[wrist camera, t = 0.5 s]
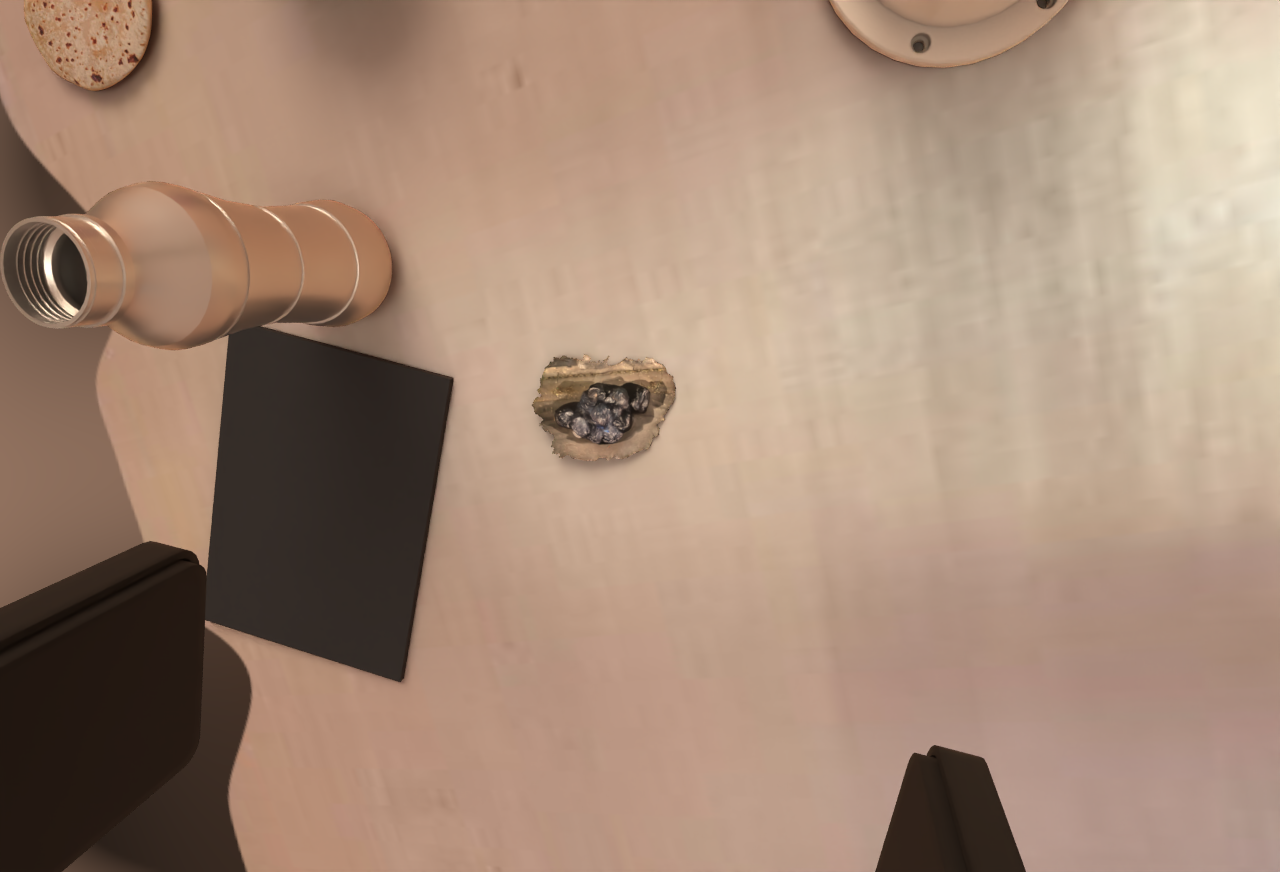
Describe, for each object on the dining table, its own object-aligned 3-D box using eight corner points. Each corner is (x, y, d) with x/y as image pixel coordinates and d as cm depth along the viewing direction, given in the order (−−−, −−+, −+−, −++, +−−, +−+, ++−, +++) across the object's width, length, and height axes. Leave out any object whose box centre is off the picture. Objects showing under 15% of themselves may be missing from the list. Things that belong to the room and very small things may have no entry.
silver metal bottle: (307, 322, 48) (-17, 373, 29) (295, 202, 47) (-56, 171, 27) (410, 323, 47) (143, 375, 28) (401, 199, 45) (112, 165, 26)
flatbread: (78, 113, 48) (64, 111, 47) (13, -14, 47) (-4, -19, 46) (184, 45, 46) (171, 41, 45) (117, -90, 45) (102, -97, 44)
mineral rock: (520, 371, 46) (508, 376, 45) (648, 316, 44) (641, 319, 42) (568, 479, 47) (559, 488, 45) (696, 430, 45) (692, 438, 43)
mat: (235, 319, 49) (229, 320, 48) (453, 377, 47) (450, 379, 47) (207, 616, 54) (202, 619, 54) (403, 678, 52) (400, 682, 52)
